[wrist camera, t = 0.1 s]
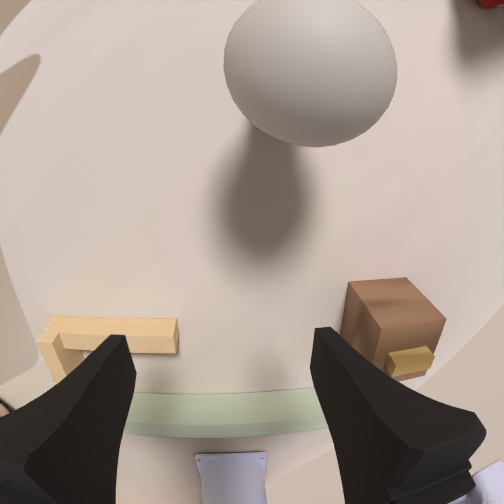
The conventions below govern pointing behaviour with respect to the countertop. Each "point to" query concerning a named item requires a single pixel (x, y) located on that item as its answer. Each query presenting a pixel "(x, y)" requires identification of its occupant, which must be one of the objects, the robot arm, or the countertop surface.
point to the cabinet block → (392, 326)
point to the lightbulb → (310, 69)
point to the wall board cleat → (178, 405)
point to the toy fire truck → (491, 3)
